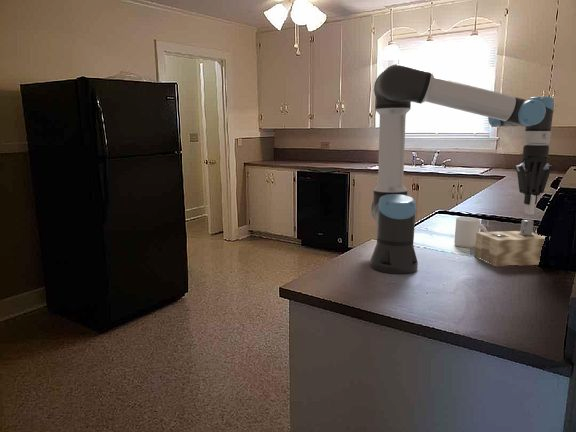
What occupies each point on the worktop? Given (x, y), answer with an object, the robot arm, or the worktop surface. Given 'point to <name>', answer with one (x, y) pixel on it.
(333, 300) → the worktop surface
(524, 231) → the peg
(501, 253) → the socket block
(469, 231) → the mug
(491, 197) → the worktop surface
